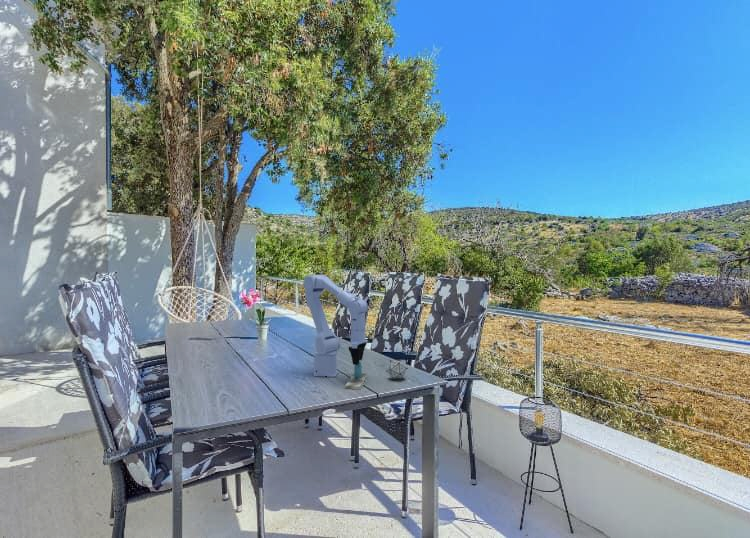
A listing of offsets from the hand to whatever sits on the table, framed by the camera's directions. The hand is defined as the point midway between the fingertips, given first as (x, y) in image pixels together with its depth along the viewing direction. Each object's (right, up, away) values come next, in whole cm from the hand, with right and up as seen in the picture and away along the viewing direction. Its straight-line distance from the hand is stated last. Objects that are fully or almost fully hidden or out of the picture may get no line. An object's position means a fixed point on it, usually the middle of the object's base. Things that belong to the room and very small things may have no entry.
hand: (357, 362), depth 164 cm
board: (0, -8, -2) cm, 8 cm away
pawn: (0, -6, 0) cm, 6 cm away
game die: (+16, -8, +3) cm, 18 cm away
